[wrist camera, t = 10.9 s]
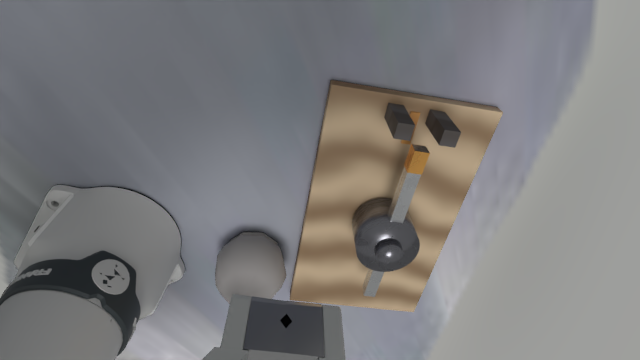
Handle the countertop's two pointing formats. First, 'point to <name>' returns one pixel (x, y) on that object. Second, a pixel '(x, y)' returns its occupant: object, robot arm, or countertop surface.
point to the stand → (385, 187)
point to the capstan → (389, 225)
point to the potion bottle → (250, 267)
